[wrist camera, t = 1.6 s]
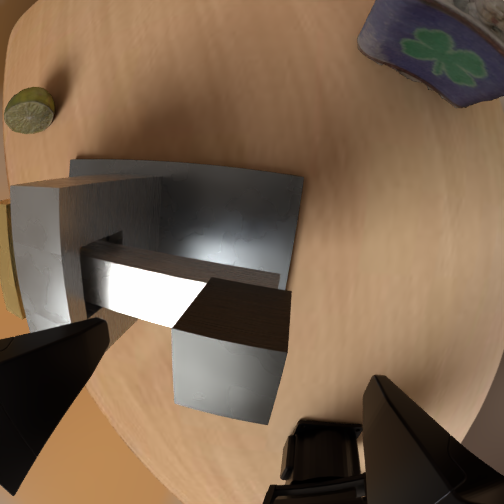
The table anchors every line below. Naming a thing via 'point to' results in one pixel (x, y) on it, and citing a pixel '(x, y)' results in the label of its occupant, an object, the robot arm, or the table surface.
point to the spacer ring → (9, 263)
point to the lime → (30, 111)
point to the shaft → (201, 323)
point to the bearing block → (145, 226)
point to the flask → (440, 45)
